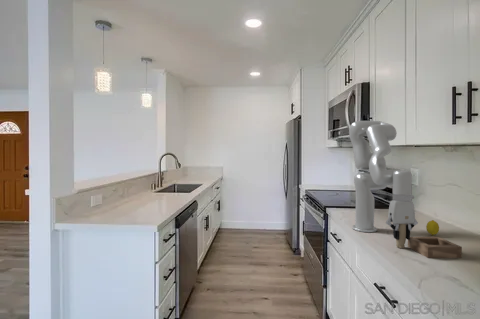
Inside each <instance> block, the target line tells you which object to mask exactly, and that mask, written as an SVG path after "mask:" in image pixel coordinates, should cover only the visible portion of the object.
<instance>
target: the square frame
mask: <svg viewBox="0 0 480 319" xmlns="http://www.w3.org/2000/svg"><path fill="white" fill-rule="evenodd" d="M407 247H408V248H410V249H412V250H413V251H415V252H416V253H417V254H420V255H422V256H424V257H426V258H427V259H453V258H454V259H456V258H458V259H459V258H462V254H463V253H462V252H463V249H462V248H463V247H462V246H461V245H458V244H457V243H455V242H452V241H449V240H447V239H445V238H442V237H440V236H410V239H409V240H408V239H407Z"/></svg>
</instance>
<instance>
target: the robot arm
mask: <svg viewBox="0 0 480 319" xmlns="http://www.w3.org/2000/svg"><path fill="white" fill-rule="evenodd" d="M348 135H349V140H350V142H351V145H352V150H353V158H354V166H355V168H356V169H357V170H360V171H362V172H358V173H356V174H355V176H354V178H353V183H354V188H355V217H354V218H355V219H354V221H355V223H354V224H353V225H352V229H353V230H355V231H358V232H363V233H374V232H375V233H376V232H377V231H378V228H377V227H376V226H375V196H374V194H373V193H372V191H373V190H384V189H386V188H387V187H388V186H392V200H390V201H389V205H388V206H389V207H388V213H387V220H386V221H385V224H386V225H388V226H389V227H390V228H391V229H392V230H393V231H392V232H393V234H392V235H393V236H392V237H393V238H394V239H395V240H396V239H397V240H399V231H398V227H399V224H406V240H407V241H408V240H409V239H410V237H411V231H412V229H413V228H414V227H415V226H417V225H418V223H419V221H417V219H416V213H415V212H416V211H415V205H414V201H413V199H415V196H414V195H413V194H412V189H413V185H412V184H413V178H412V177H413V174H412V172H411V171H410V170H401V169H395V168H393V169H390V168H389V169H388V168H387V163H386V162H387V161H386V159H385V157H386V156H387V155H390V153H391V152H392V147H391V144H390V142H391V141H394V140H395V139H396V137H397V129H396V127H395V126H394V125H392V124H390V123H387V122H385V121H379V120H357V121H354V122H352V123H351V124H350V126H349V131H348ZM365 137H367V139H368V141H367V140H366V139H365ZM370 148H371V149H370ZM364 171H365V172H364ZM367 171H368V172H367ZM405 216H409V218H408V219H405Z"/></svg>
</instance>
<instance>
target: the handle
mask: <svg viewBox="0 0 480 319" xmlns="http://www.w3.org/2000/svg"><path fill="white" fill-rule="evenodd" d="M408 218H409V216H405V219H408ZM398 231H399V240H397V239H395V244H396V248H399V249H404V248H405V247H406V240H407V239H406V224H399V227H398Z"/></svg>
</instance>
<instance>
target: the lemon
mask: <svg viewBox="0 0 480 319" xmlns="http://www.w3.org/2000/svg"><path fill="white" fill-rule="evenodd" d="M425 227H426V232H427V233H428V234H430V235H431V237H434V236H435V235H437V234H438V233H439V231H440V225H439V223H438V222H437V221H435V220H433V219H432V220H429V221H427V223H426V226H425Z"/></svg>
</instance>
